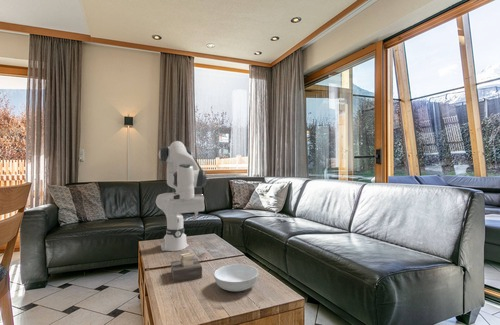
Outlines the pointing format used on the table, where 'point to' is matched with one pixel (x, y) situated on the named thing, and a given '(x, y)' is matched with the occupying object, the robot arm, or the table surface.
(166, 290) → the table surface
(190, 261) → the birch cube
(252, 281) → the serving bowl
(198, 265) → the charcoal riser block
